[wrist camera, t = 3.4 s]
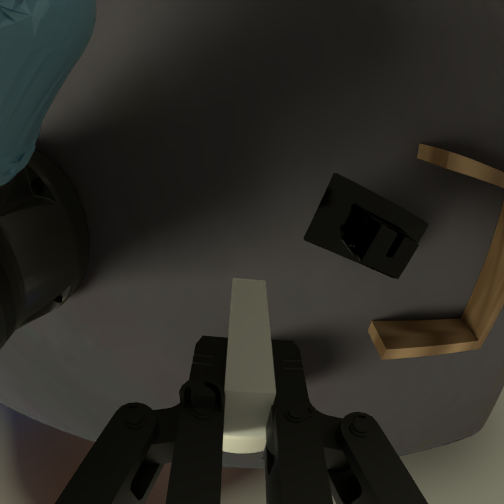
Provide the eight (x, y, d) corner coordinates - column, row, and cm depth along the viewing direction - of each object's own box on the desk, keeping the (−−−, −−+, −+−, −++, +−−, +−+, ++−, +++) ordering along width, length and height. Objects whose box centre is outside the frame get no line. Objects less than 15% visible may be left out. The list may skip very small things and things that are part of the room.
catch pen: (367, 330, 26) (381, 359, 23) (419, 143, 19) (449, 151, 15) (463, 326, 27) (479, 348, 24) (515, 178, 20) (542, 190, 16)
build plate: (438, 220, 23) (468, 242, 18) (397, 288, 25) (419, 318, 21) (319, 153, 20) (339, 164, 16) (277, 241, 23) (284, 271, 19)
